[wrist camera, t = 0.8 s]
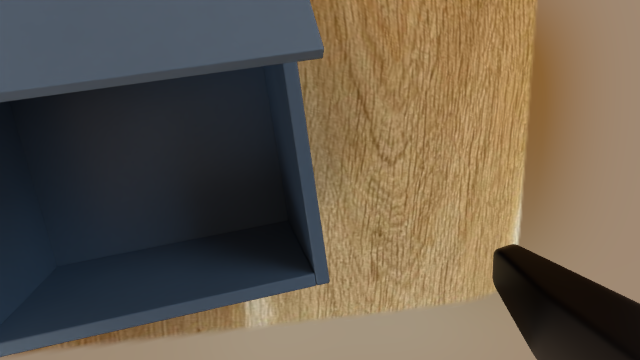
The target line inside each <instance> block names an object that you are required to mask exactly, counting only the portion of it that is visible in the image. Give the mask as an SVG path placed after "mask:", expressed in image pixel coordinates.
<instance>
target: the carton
mask: <svg viewBox="0 0 640 360" xmlns="http://www.w3.org/2000/svg"><path fill="white" fill-rule="evenodd" d="M325 283H329V274H328V267H327V260H326V254H325V247H324V240H323V233H322V227H321V220H320V213H319V207H318V200H317V193H316V186H315V180H314V173H313V166H312V159H311V153H310V146H309V139H308V132H307V126H306V119H305V112H304V106H303V99H302V92H301V85H300V79H299V72H298V65H297V62H290V63H283V64H275V65H268V66H261V67H254V68H246V69H239V70H232V71H225V72H217V73H210V74H203V75H195V76H188V77H181V78H174V79H166V80H159V81H152V82H144V83H137V84H130V85H123V86H115V87H108V88H101V89H93V90H86V91H79V92H72V93H64V94H57V95H50V96H42V97H35V98H28V99H21V100H13V101H6V102H0V357H2V356H7V355H11V354H16V353H20V352H25V351H29V350H33V349H38V348H42V347H47V346H51V345H55V344H60V343H64V342H69V341H73V340H78V339H82V338H86V337H91V336H95V335H100V334H104V333H109V332H113V331H117V330H122V329H126V328H131V327H135V326H140V325H144V324H148V323H153V322H157V321H162V320H166V319H171V318H175V317H179V316H184V315H188V314H193V313H197V312H201V311H206V310H210V309H215V308H219V307H224V306H228V305H232V304H237V303H241V302H246V301H250V300H255V299H259V298H263V297H268V296H272V295H277V294H281V293H286V292H290V291H294V290H299V289H303V288H308V287H312V286H316V284H317V285H321V284H325Z"/></svg>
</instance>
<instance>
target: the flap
mask: <svg viewBox="0 0 640 360" xmlns="http://www.w3.org/2000/svg"><path fill="white" fill-rule="evenodd" d="M323 52H324V47H323V43H322V40H321V37H320V33H319V30H318V27H317V23H316V20H315V17H314V13H313V10H312V7H311V3H310V0H0V102H6V101H13V100H21V99H28V98H35V97H42V96H50V95H57V94H64V93H72V92H79V91H86V90H93V89H101V88H108V87H115V86H123V85H130V84H137V83H144V82H152V81H159V80H166V79H174V78H181V77H188V76H195V75H203V74H210V73H217V72H225V71H232V70H239V69H246V68H254V67H261V66H268V65H275V64H283V63H290V62H297V61H305V60H312V59H319V58H323Z"/></svg>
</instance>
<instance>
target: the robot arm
mask: <svg viewBox="0 0 640 360" xmlns="http://www.w3.org/2000/svg"><path fill="white" fill-rule="evenodd" d="M492 276H493V282H494V285H495V287H496V289H497V291H498V293H499V294H500V296H501V298H502V300H503V302H504V304H505V305H506V307H507V309H508V311H509V312H510V314H511V316H512V318H513V319H514V321H515V323H516V325H517V327H518V328H519V330H520V332H521V334H522V335H523V337H524V339H525V341H526V342H527V344H528V346H529V347H530V349H531V351H532V352H533V354H534V356H535V357H536V359H537V360H640V304H639V303H637V302H635V301H633V300H631V299H629V298H627V297H625V296H623V295H620V294H618V293H616V292H614V291H612V290H610V289H608V288H606V287H604V286H602V285H600V284H598V283H595V282H593V281H591V280H589V279H587V278H585V277H583V276H581V275H579V274H577V273H574V272H572V271H571V270H568V269H566V268H564V267H562V266H560V265H558V264H556V263H554V262H552V261H550V260H548V259H546V258H543V257H541V256H539V255H537V254H535V253H533V252H531V251H529V250H527V249H525V248H522V247H520V246H518V245H515V244H512V245H508V246H505V247H502V248H499V249H497V250H495V252H494V256H493V275H492Z"/></svg>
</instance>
